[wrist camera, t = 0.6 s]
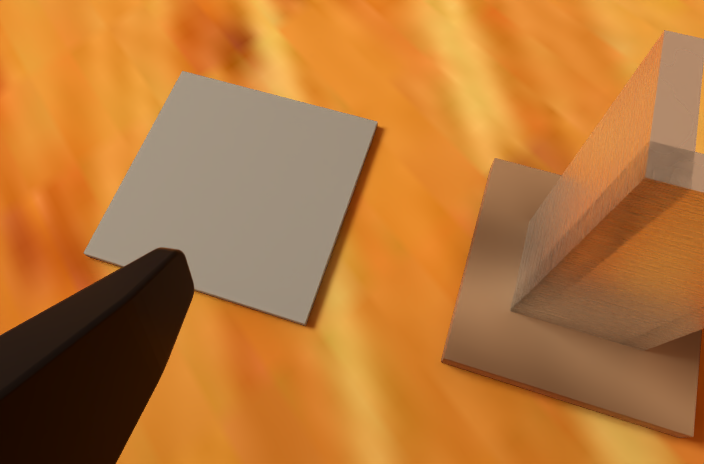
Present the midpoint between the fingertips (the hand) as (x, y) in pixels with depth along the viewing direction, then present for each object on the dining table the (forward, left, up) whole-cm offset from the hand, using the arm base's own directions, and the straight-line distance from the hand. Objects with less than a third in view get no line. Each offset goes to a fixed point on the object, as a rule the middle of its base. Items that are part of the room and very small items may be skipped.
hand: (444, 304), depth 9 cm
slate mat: (+10, +8, -15) cm, 20 cm away
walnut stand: (+5, -8, -15) cm, 18 cm away
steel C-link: (+5, -8, -14) cm, 17 cm away
